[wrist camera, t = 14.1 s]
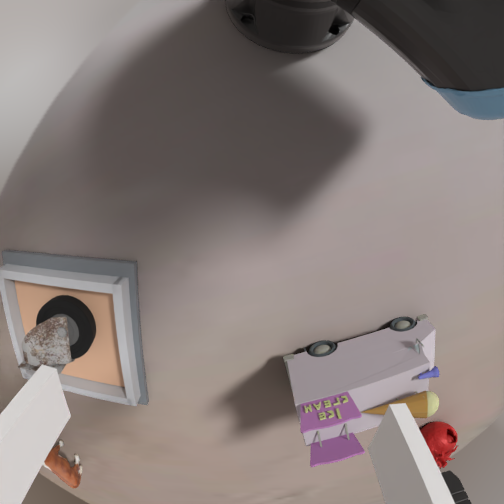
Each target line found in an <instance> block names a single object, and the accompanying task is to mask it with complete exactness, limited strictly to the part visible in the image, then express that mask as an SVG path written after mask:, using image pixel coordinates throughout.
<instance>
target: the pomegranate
mask: <svg viewBox="0 0 504 504" xmlns="http://www.w3.org/2000/svg"><path fill="white" fill-rule="evenodd" d="M420 432H421V434H422V436H423V438H424V440H425V442H426V444H427V446H428V448H429V450H430V452H431V454H432V456H433V458H434V460H435V462H436V464H437V466H440V468H441V467H443V468H444V467H445V466H446V465H447V462H446V461H447V460H452V459H451V458H449V456H450V455H451V453H452V452H454V451H455V450H456V448H457V446H456V447H455V445H456V442H457V439H458V438H457V433H456V431H455V429H454V428H453V427H452V426H450V425H449V424H447V423H444V422H431V423H429V424H427V425H425V426H424V427H423V428H422V429H420ZM458 446H459V445H458ZM454 447H455V449H454Z"/></svg>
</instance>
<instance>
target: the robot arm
mask: <svg viewBox="0 0 504 504" xmlns="http://www.w3.org/2000/svg"><path fill="white" fill-rule="evenodd" d="M225 1H226V8H227V12H228V14H229V17H230V19H231V21H232V22H233V24H234V25H235V26H236V28H237V29H238V30H239V31H240V32H241V33H242V34H243V35H245V36H246V37H247V38H249V39H250V40H252V41H253V42H255V43H257V44H259V45H261V46H263V47H266V48H269V49H272V50H275V51H280V52H286V53H308V52H313V51H317V50H321V49H323V48H326V47H328V46H330V45H332V44H333V43H335V42H336V41H338V40H339V39H340V38H341V37H342V36H343V35H344V33H345V32H346V31H347V30H348V28H349V27H350V25H351V24H352V22H353V20H354V18H355V19H356V20H358V21H359V22H360V23H362V24H363V25H364V26H365V27H367V28H368V29H369V30H370V31H372V32H373V33H374V34H375V35H377V36H378V37H379V38H380V39H381V40H382V41H384V42H385V43H386V44H387V45H388V46H389V47H391V48H392V49H393V50H394V51H395V52H396V53H397V54H398V55H399V56H401V57H402V58H403V59H404V60H405V61H406V62H407V63H408V64H409V65H410V66H411V67H412V68H413V69H414V70H415V71H416V72H417V73H418V74H419V75H420V76H421V78H422V80H423V81H424V82H425V83H426V84H427V85H428V86H429V87H431V88H432V89H434V90H436V91H437V92H438V93H439V94H440V95H441V96H442V97H443V98H444V99H445V100H446V101H447V102H448V103H449V104H450V105H451V106H452V107H453V108H454V109H455V110H457V111H458V112H459V113H461V114H464V115H467V116H469V117H472V118H475V119H481V120H495V119H502V118H504V0H225ZM70 417H71V415H70V412H69V409H68V406H67V403H66V399H65V396H64V393H63V390H62V386H61V383H60V379H59V376H58V372H57V369H55V368H52V367H49V366H46V365H41V366H40V368H39V369H38V370H37V371H36V372H35V373H34V374H33V376H32V377H31V378H30V379H29V380H28V381H27V383H26V384H25V385H24V386H23V387H22V389H21V390H20V391H19V392H18V393H17V395H16V396H15V397H14V398H13V399H12V401H11V402H10V403H9V404H8V406H7V407H6V408H5V409H4V411H3V412H2V413H1V414H0V504H21V503H22V501H23V499H24V497H25V495H26V493H27V492H28V490H29V488H30V486H31V484H32V482H33V481H34V478H35V477H36V475H37V473H38V471H39V470H40V468H41V466H42V464H43V463H44V461H45V459H46V457H47V456H48V454H49V452H50V450H51V449H52V447H53V445H54V444H55V442H56V440H57V438H58V437H59V435H60V433H61V432H62V430H63V428H64V427H65V425H66V423H67V422H68V420H69V418H70ZM368 450H369V453H370V456H371V459H372V462H373V465H374V468H375V471H376V474H377V477H378V481H379V484H380V487H381V490H382V493H383V496H384V500H385V503H386V504H471V502H470V500H468V496H467V494H466V492H464V488H463V486H462V483H461V482H460V480H459V478H458V477H457V476H456V475H454V474H453V473H452V472H451V471H447V472H443V473H441V472H440V470H439V468H438V466H437V464H436V462H435V460H434V458H433V456H432V454H431V452H430V450H429V448H428V446H427V444H426V442H425V440H424V438H423V436H422V434H421V432H420V430H419V428H418V426H417V424H416V422H415V420H414V418H413V416H412V414H411V412H410V410H409V409H408V407H407V405H406V403H401V404H389V406H388V408H387V410H386V413H385V415H384V417H383V419H382V421H381V423H380V425H379V427H378V429H377V431H376V433H375V435H374V437H373V439H372V441H371V443H370V445H369V447H368Z"/></svg>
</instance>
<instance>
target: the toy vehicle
mask: <svg viewBox="0 0 504 504" xmlns="http://www.w3.org/2000/svg"><path fill="white" fill-rule="evenodd" d="M337 344H338V347H336V345H335V344H334V343H333V342H331V341H319V342H317V343H315V344H313V345H312V346H311V347H310V349H309V352H308V353H307V351H306V348H305V347H304V351H305V352H302V353H299V354H295V355H293V354H290V355H286V356H284V357H283V359H284V363H285V366H286V370H287V374H288V378H289V382H290V385H291V389H292V393H293V397H294V403H295V407H296V411H297V414H298V418H299V422H300V426H301V433H303V437H304V441H305V444H306V446H309V445H311V460H310V466H311V467H315V466H317V465H321V464H329V463H333V462H338V461H342V460H344V459H347V458H350V457H353V456H355V455H360V454H363V453H365V451H364V449H363V448H362V446H361V445H360V443H359V442H358V440H357V438H356V437H355V435H354V434H355V433H358V432H361V431H365V430H368V429H371V428H374V427H377V426H379V425H380V423H381V421H382V419H383V417H384V415H385V413H386V410H387V408H388V406H389V404H401V403H406V405H407V407H408V409H409V410H410V412H411V414H412V416H413V417H414V418H427V417H430V416H431V415H433V414H434V413H435V412H436V410H437V409H438V405H439V399H438V397H437V395H436V394H435V393H433V392H431V391H428V385H429V378H430V377H439V370H438V368H437V367H436V366H435V367H434V356H435V327H434V326H433V325H432V324H431V323H430V322H429V321H428V316H427V315H425V314H423V315H420V316H418V317H417V318H416V323H415V321H414V320H413V319H412V318H410V317H399V318H397V319H395V320H393V321H392V322H391V324H390V328H386V329H383V330H380V331H376V332H373V333H370V334H367V335H363V336H360V337H357V338H353V339H350V340H346V341H343V342H339V343H337Z"/></svg>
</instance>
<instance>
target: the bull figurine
mask: <svg viewBox="0 0 504 504" xmlns="http://www.w3.org/2000/svg"><path fill="white" fill-rule="evenodd" d="M63 445H64V444H63V441H62V440H59V445H57V446H56V447H52V449H51V450H50V452H49V454H48V456H47V457H46V459H45V461H44V463H43V464H42V465H43V466H45V467H46V468H48V469H49V470H51V471H52V472H53V473H54V474H56V475H57V476H58V477H59V478H60V479H61V480H62V481H64V482H65V483H66V484H68V485H69V486H70V487H71V488H77V487H78V486H79V484H80V480H81V474H82V466H81V465H80V466H79V460H80V458H79V456H78V455H77V454H74V455H75V461H74V463H75V466H74V467H70V464H69V463H68V461H67V458H63V457H61V456H60V455H59V454H58V451H59V450H60V447H61V446H63ZM78 472H79V474H78Z"/></svg>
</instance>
